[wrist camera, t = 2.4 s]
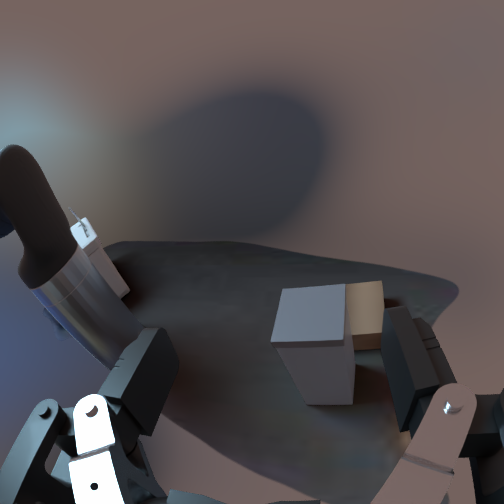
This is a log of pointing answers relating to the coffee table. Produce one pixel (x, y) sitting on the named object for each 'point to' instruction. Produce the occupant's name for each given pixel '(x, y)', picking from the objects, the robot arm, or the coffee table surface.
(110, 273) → the stereo radio cassette player
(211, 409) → the coffee table surface
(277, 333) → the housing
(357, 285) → the stand
